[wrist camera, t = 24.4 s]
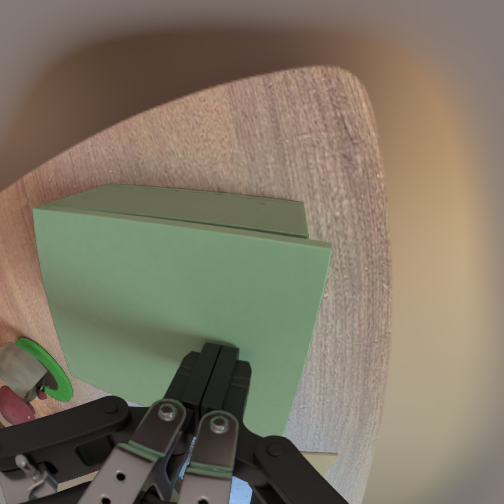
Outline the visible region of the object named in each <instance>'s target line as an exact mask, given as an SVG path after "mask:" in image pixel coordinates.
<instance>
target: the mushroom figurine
mask: <svg viewBox="0 0 504 504" xmlns="http://www.w3.org/2000/svg"><path fill="white" fill-rule="evenodd" d="M0 378H1V379H2V380H3V381H4V382H5V383H6V384H7V385H8V386H2V387H1V388H0V412H1V414H2V415H3V417H4V418H5V419H6V420H7V421H8V422H9V423H11V424H12V425H17V424H21V423H25V422H28V421H32V420H35V419H36V418H35V416H34V414H35V410H34V408H33V407H32V405H31V404H30V403H29V402H30V401H32V400H34V399H35V398H36V396H38V398H39V399H42V400H44V399H47V396H46V394H48V395H49V396H51V397H53V398H54V399H57V400H59V401H63V402H66V401H69V400H70V398H71V397H72V394H73V391H72V387H71V384H70V382H69V380H68V378H67V377H66V375H65V373H64V372H63V371H62V369H61V368H60V366H59V365H58V364H57V363H56V362H55V360H54V359H53V358H52V357H51V356H50V355H49V354H48V353H47V352H46V351H45V350H44V349H43V348H42V347H40V346H39V345H38V344H36V343H35V342H33V341H32V340H30V339H27V338H20V339H19V340H18V341H17V342H16V344H14V343H12V342H7V343H6V344H5V345H3V346H2V347H1V348H0ZM40 389H41V390H40ZM44 392H45V393H46V394H45V393H44ZM26 393H27V394H26ZM25 394H26V395H25ZM24 396H25V397H24ZM2 428H5V427H4V425H2V423H1V422H0V429H2Z"/></svg>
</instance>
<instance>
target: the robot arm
mask: <svg viewBox="0 0 504 504" xmlns="http://www.w3.org/2000/svg"><path fill="white" fill-rule="evenodd" d="M251 375H252V369H251V366H250V363H249V362H248V361H242V360H239V348H235V347H229V346H222V345H218V344H213V343H207V342H205V344H204V346H203V348H202V350H201V353H200V352H195V351H191V352H190V353H189V354H187V355H186V356H185V357H184V358H183V360H182V362H181V364H180V366H179V368H178V370H177V371H176V374H175V375H174V377H173V379H172V381H171V383H170V385H169V387H168V389H167V391H166V393H165V395H164V397H163V399H160V400H158V401H156V402H154V403H153V404H152V405H151V406H149V407H130V406H128V404H127V403H126V401H125V400H124V399H122V398H120V397H117V396H106V397H103V398H100V399H97V400H94V401H91V402H88V403H86V404H83V405H80V406H77V407H74V408H71V409H68V410H65V411H62V412H58V413H55V414H52V415H49V416H45V417H42V418H39V419H35V420H32V421H28V422H25V423H21V424H17V425H13V426H10V427H6V428H2V429H0V485H1V488H2V491H3V494H4V497H5V500H6V503H7V504H229V500H230V492H231V484H232V477H233V476H235V477H237V478H239V479H241V480H243V481H246V482H248V484H249V486H250V487H251V489H252V490H253V491H254V493H255V494H256V495H257V497H258V498H259V499H260V501H261V502H262V503H263V504H349V503H348V502H347V501H346V500H345V499H344V498H343V497H342V496H341V495H340V494H339V493H338V492H337V491H336V490H335V489H334V488H333V487H332V486H331V485H330V484H329V483H328V482H327V481H326V480H325V479H324V478H323V477H322V476H321V474H320V473H319V472H318V471H317V470H316V469H315V468H314V467H313V466H312V465H311V464H310V462H309V461H308V460H307V459H306V458H305V457H304V456H303V455H302V453H301V452H300V451H299V450H298V449H297V448H296V447H295V445H294V444H293V443H292V442H291V441H290V440H288V439H287V438H285V437H282V436H278V435H270V436H266V437H261V436H259V435H257V434H255V433H253V432H251V431H250V430H248V429H247V428H246V426H245V425H244V423H243V418H244V413H245V409H246V404H247V399H248V395H249V389H250V382H251ZM193 437H196V440H195V444H194V448H193V452H192V456H191V460H190V463H189V465H187V467H186V469H185V472H184V476H183V480H182V484H181V488H180V492H179V496H178V500H177V502H170V500H171V497H172V494H173V487H174V484H175V482H176V480H177V478H178V475H179V473H180V471H181V469H182V467H183V465H184V463H185V461H186V458H187V456H188V454H189V452H190V446H191V443H192V440H193ZM98 470H99V471H98ZM95 471H98V473H97V474H96V476H95V477H94V479H93V480H92V481H88V482H85V483H82V484H79V485H77V486H74V487H71V488H68V489H66V490H63V491H60V492H57V487H58V484H59V483H62V482H65V481H68V480H72V479H75V478H78V477H81V476H84V475H87V474H89V473H92V472H95Z"/></svg>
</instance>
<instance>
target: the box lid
mask: <svg viewBox="0 0 504 504" xmlns="http://www.w3.org/2000/svg"><path fill="white" fill-rule="evenodd" d="M32 212H33V222H34V230H35V238H36V245H37V251H38V257H39V263H40V269H41V274H42V279H43V283H44V288H45V292H46V296H47V301H48V305H49V308H50V312H51V316H52V319H53V323H54V326H55V330H56V333H57V336H58V339H59V342H60V346H61V349H62V351H63V354H64V357H65V360H66V363H67V365H68V368H69V371H70V373H71V375H72V376H73V377H75V378H77V379H79V380H81V381H83V382H85V383H88V384H90V385H92V386H94V387H96V388H99V389H101V390H103V391H106V392H108V393H110V394H113V395H115V396H118V397H120V398H123V399H125V400H128V401H130V402H133V403H136V404H138V405H141V406H144V407H149V406H151V405H152V404H153V403H154V402H156V401H158V400H160V399H163V397H164V395H165V393H166V391H167V389H168V387H169V385H170V383H171V381H172V379H173V377H174V375H175V374H176V371H177V370H178V368H179V366H180V364H181V362H182V360H183V358H184V357H185V356H186V355H187V354H189V353H190V352H191V351H195V352H200V353H201V350H202V348H203V346H204V344H205V342H207V343H213V344H218V345H222V346H229V347H235V348H239V360H242V361H248V362H249V363H250V366H251V369H252V375H251V382H250V389H249V395H248V399H247V404H246V409H245V413H244V418H243V423H244V425H245V426H246V428H247V429H248V430H250V431H251V432H253V433H255V434H257V435H259V436H261V437H266V436H270V435H278V436H282V437H283V434H284V431H285V428H286V426H287V423H288V420H289V416H290V413H291V410H292V407H293V404H294V401H295V398H296V394H297V391H298V388H299V384H300V381H301V378H302V374H303V371H304V367H305V364H306V360H307V357H308V353H309V349H310V346H311V342H312V338H313V334H314V330H315V326H316V322H317V318H318V314H319V310H320V306H321V302H322V297H323V293H324V289H325V284H326V280H327V275H328V270H329V265H330V261H331V256H332V247H331V243H329V242H323V241H316V240H310V239H303V238H297V237H290V236H283V235H276V234H270V233H263V232H256V231H249V230H242V229H235V228H227V227H220V226H213V225H205V224H198V223H190V222H182V221H175V220H167V219H159V218H151V217H143V216H134V215H126V214H118V213H109V212H100V211H91V210H82V209H73V208H63V207H54V206H44V205H41V206H38V207H35V208H33V209H32Z"/></svg>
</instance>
